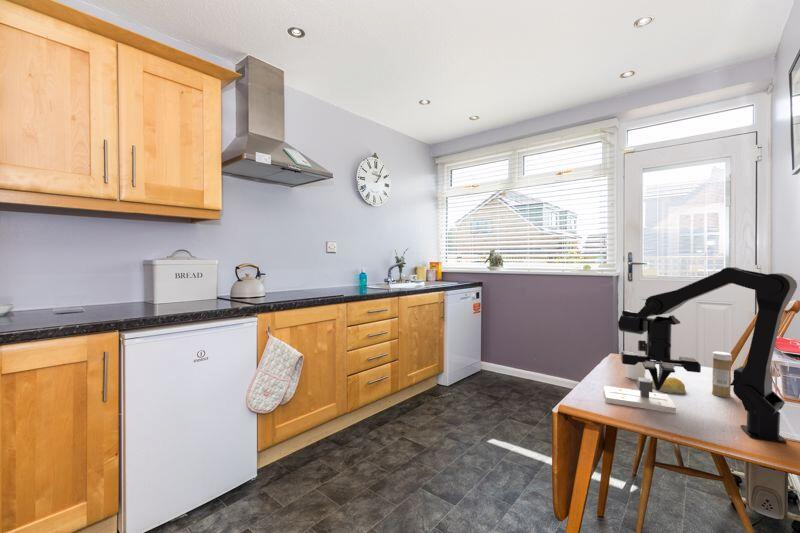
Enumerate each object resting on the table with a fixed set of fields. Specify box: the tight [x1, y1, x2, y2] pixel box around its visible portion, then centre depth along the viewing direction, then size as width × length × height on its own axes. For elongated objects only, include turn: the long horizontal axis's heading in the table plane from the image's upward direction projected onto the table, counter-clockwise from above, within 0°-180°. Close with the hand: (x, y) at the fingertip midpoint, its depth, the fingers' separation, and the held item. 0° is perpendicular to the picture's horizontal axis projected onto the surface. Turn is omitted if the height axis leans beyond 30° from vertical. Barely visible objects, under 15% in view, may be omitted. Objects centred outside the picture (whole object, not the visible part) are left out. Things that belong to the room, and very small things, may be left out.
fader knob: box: [636, 377, 654, 397], centre depth 110 cm, size 4×3×5 cm
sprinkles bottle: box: [711, 350, 733, 398], centre depth 115 cm, size 5×5×13 cm
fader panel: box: [603, 385, 677, 414], centre depth 111 cm, size 11×17×2 cm, turn 64°
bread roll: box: [651, 377, 687, 395], centre depth 120 cm, size 8×9×4 cm
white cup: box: [624, 362, 647, 381], centre depth 132 cm, size 7×7×7 cm
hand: (657, 390), depth 108 cm, fingers closed
